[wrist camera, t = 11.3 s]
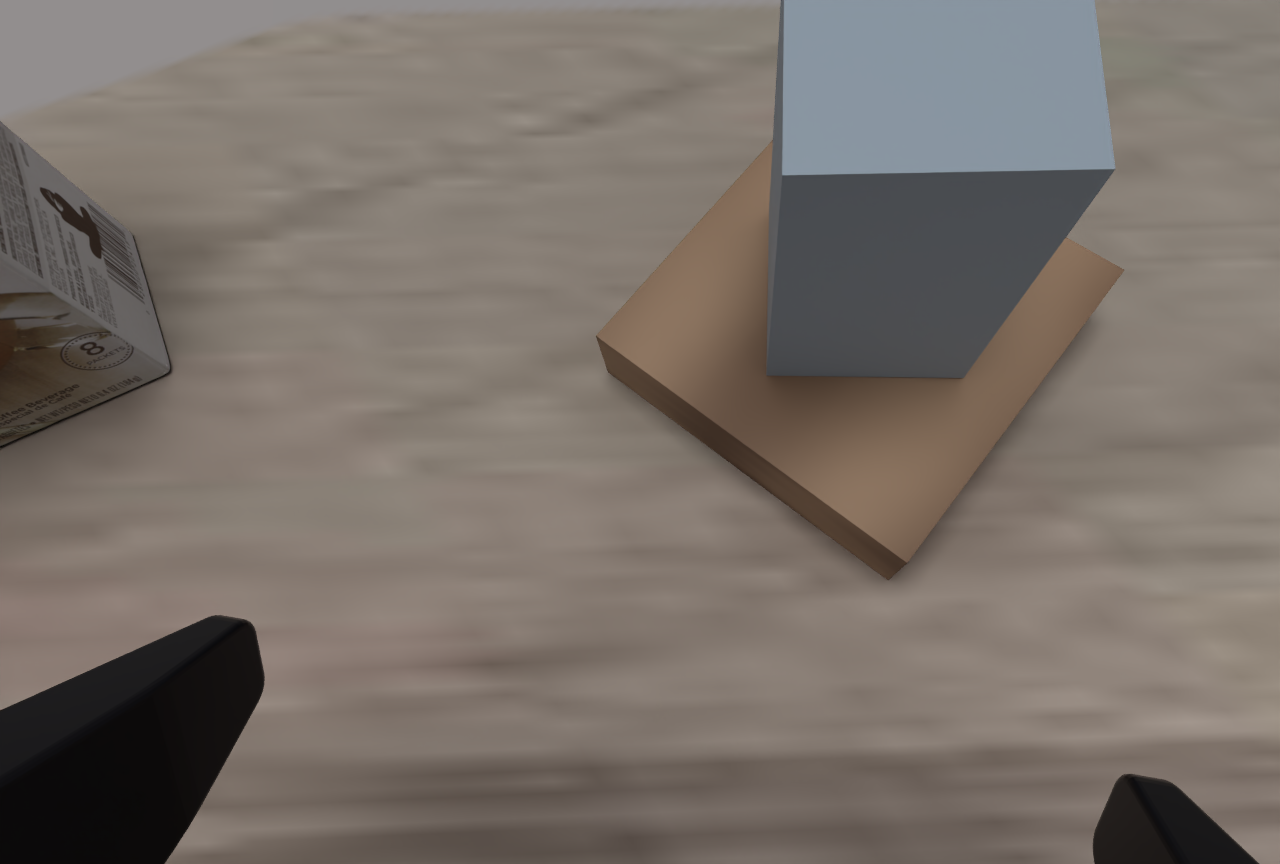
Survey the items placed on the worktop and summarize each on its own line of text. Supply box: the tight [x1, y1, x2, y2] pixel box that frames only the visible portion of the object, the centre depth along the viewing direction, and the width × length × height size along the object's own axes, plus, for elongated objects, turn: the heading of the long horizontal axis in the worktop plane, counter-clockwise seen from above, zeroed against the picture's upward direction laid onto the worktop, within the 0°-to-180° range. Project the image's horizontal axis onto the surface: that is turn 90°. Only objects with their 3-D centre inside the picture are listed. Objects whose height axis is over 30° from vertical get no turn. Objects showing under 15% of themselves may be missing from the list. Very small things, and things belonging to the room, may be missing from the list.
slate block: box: [766, 0, 1115, 378], centre depth 18 cm, size 5×5×9 cm
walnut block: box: [596, 140, 1124, 580], centre depth 24 cm, size 10×10×3 cm
